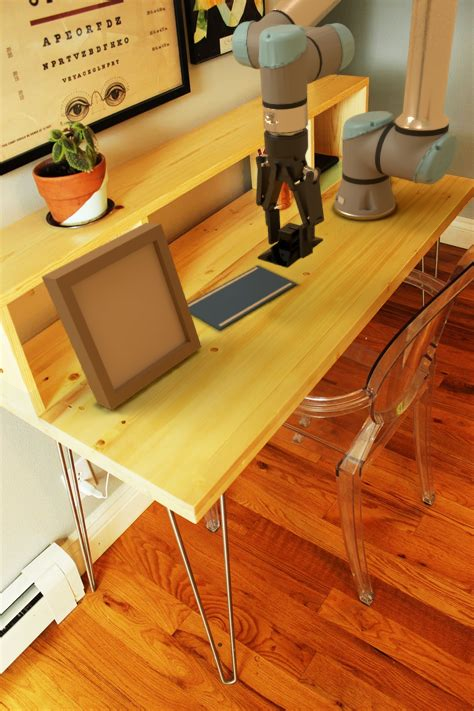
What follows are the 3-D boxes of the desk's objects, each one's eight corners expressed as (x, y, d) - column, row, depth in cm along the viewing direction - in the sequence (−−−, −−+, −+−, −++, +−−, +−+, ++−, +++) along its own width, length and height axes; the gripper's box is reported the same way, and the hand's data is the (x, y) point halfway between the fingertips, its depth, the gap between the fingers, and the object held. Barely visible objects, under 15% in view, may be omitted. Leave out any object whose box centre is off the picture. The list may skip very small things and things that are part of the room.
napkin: (257, 266, 142) (257, 265, 142) (296, 284, 135) (296, 283, 134) (182, 308, 131) (181, 306, 131) (219, 330, 124) (219, 328, 124)
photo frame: (202, 350, 119) (183, 231, 104) (113, 414, 107) (77, 290, 92) (151, 324, 128) (126, 210, 112) (63, 380, 116) (22, 262, 100)
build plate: (287, 268, 115) (286, 246, 112) (255, 259, 119) (254, 237, 116) (323, 240, 122) (323, 218, 120) (292, 231, 126) (291, 210, 123)
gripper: (229, 123, 111) (239, 239, 125) (316, 147, 98) (317, 273, 112) (259, 112, 115) (266, 226, 129) (347, 133, 102) (344, 257, 116)
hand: (290, 248), depth 120 cm, fingers closed on build plate, 8 cm apart
